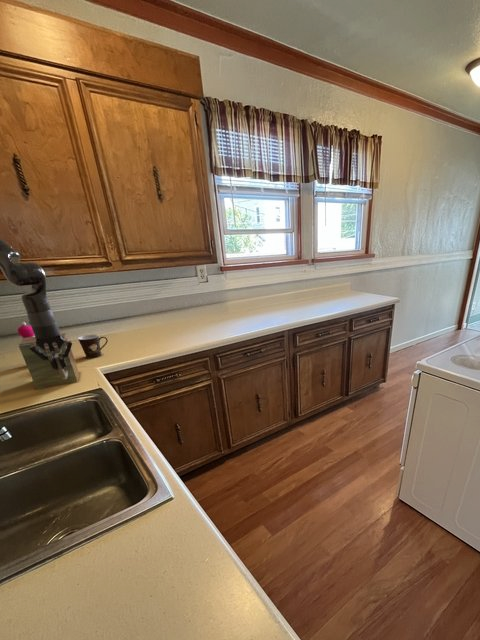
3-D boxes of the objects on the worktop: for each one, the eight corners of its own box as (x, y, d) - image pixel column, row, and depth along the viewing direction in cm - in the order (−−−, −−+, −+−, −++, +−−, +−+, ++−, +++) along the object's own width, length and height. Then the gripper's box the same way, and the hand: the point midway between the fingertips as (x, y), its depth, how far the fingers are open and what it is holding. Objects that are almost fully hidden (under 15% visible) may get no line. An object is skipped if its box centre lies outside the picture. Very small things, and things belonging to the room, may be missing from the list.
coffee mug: (83, 360, 158) (76, 340, 153) (85, 355, 165) (79, 335, 160) (109, 357, 162) (104, 337, 157) (111, 352, 169) (106, 333, 164)
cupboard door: (76, 388, 129) (61, 345, 121) (33, 395, 123) (14, 350, 115) (77, 381, 135) (63, 339, 127) (36, 388, 129) (19, 345, 121)
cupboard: (78, 381, 135) (63, 339, 127) (37, 388, 129) (19, 344, 121) (79, 373, 143) (65, 333, 135) (40, 379, 137) (23, 337, 129)
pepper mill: (47, 360, 157) (31, 319, 148) (50, 364, 153) (34, 322, 144) (28, 364, 153) (11, 322, 144) (31, 368, 148) (13, 324, 139)
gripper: (67, 318, 121) (81, 362, 129) (21, 323, 116) (39, 368, 124) (65, 323, 116) (80, 368, 124) (17, 328, 110) (36, 375, 118)
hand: (60, 368), depth 123 cm, fingers closed on cupboard door
